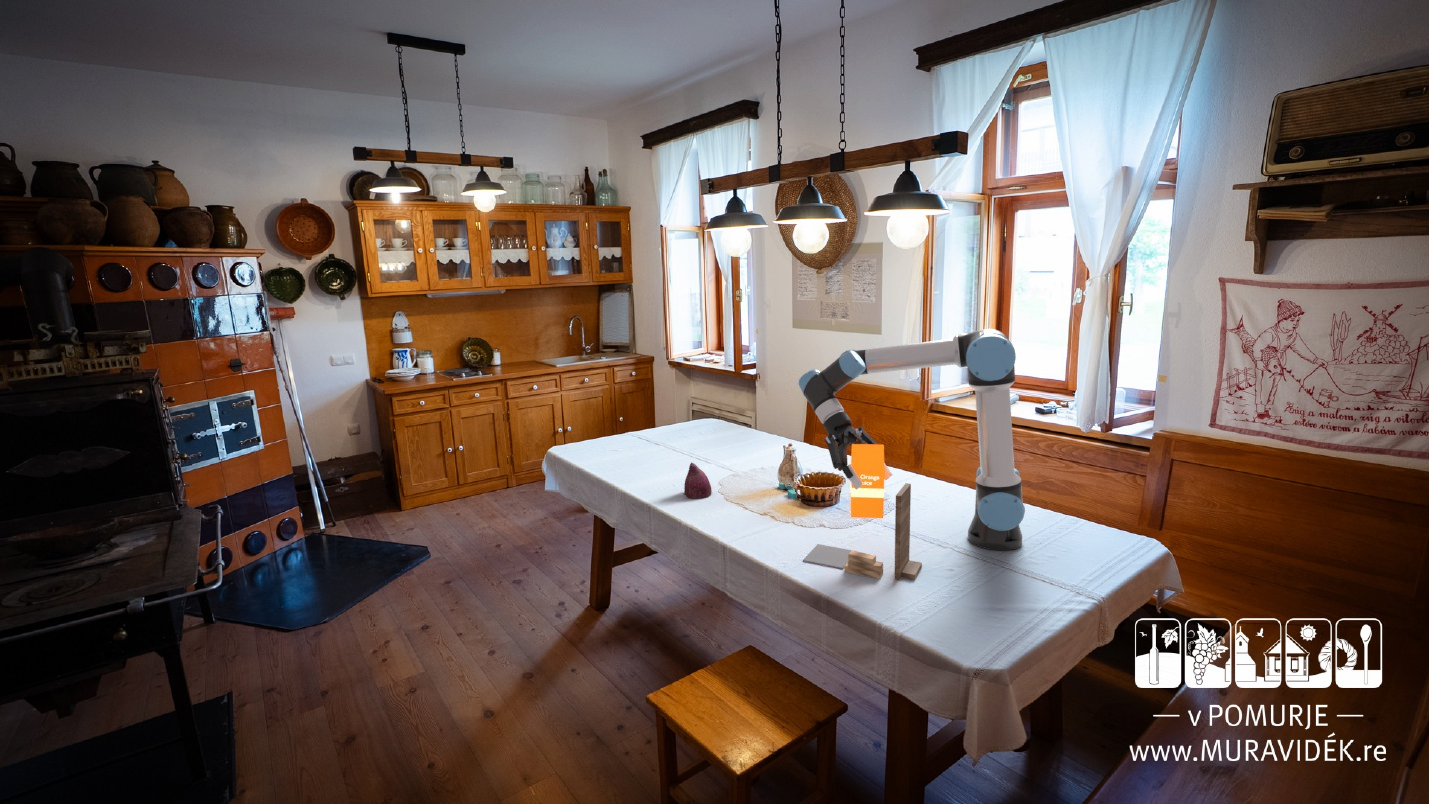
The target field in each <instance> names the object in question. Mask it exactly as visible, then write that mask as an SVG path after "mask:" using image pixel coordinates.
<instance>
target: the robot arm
mask: <svg viewBox="0 0 1429 804" xmlns="http://www.w3.org/2000/svg"><path fill="white" fill-rule="evenodd" d="M1016 357H1017V356H1016V349H1015V348H1014V345H1013V343H1012V342H1011V341H1010V340H1009V337H1008V336H1007V335H1006V334H1005V333H1003V332H1002V331H1000V330H997V329H994V328H986V329H985V328H984V329H980V330H975V331H972V332H965V333H959V334H956V335H955V336H954V337H953V338H948V339H947V338H946V339H939V340H931V341H922V342H916V343H915V342H914V343H907V344H900V345H890V346H884V347H876V348H875V347H874V348H867V349H866V348H865V349H858V350H856V349H848V350H845V351H843V352H842V353H841V354H840V355H839V357H838V358H836V359H835V360H834V361H833V362H832V363H831V364H829V365H828V366H827V367H826V368H824V369H823V370H822V371H820V370H819V369H812V370H809V371H807V372H805V373H804V374H802V375H801V376H800V378H799V379H798V386H799V388H800V390H801V392H802V394H803V396H804V398H805V399H806V400H807V402H808V403H809V405H810V406H811V408H812V410H813V411H814V413H815V415H816V416H817V418H818V420H819V421H820V423H821V424H823V425H822V426H823V428H824V429H825V432H827V434H828V435H827V436H826V437H825V438H824V442H825V443H826V446H827V449H828V452H829V456H830V459H831V463H832V467H833V469H835V470H838V471H839V472H842V473H843V474H844V475H845V477H846V479H848V480H849V481H850V484H851V483H852V485H853V486H854V488H855V489H856V490H857V489H859V488H860V487H861V486H862V485H863V483H862V482H861V480H860V479H859V477H858V475H857V474H856V472H855V470H854V469H853V467H852V466H851V463H849V464H848V447H850V446H851V447H852V444H875V445H879V444H878V442H876V440H874V439H873V438H872V436H870V435H869V434H868V433H867V432H866V431H865V429H864V428H863V426H862V425H861V426H859V427H858V428H854V427H853V425H852V420H851V418H850V416H849V415H848V413H847V412H846V411H845V409H844V407H843V405H842V404H841V403H840V401H839V399H838V398H837V396H836V395H835V394H836V393H838V392H839V391H840V390H842V389H843V388H844V387H845V386H847V385H848V384H850V383H851V382H852V381H854V380H855V379H857V378H858V377H859V376H861V375H862V376H864V375H870V374H878V373H887V372H896V371H897V372H899V371H907V370H916V369H926V368H935V367H936V368H937V367H944V366H945V367H946V366H955V365H956V366H957V367H958V368H967V380H968V385H969V386H970V387H971V388H972V389H973V390H974V393H975V409H976V420H977V422H976V423H977V424H976V425H977V434H978V435H977V436H978V450H979V463H980V466H979V467H978V468H977V469H976V475H975V477H976V478H975V504H974V505H975V508H974V509H975V510H974V515H973V518H972V520H971V523H970V525H969V527H968V530H967V539H968V541H969V542H971V544H974V545H975V546H976V547H977V546H978V547H980V548H982V549H986V550H991V551H992V550H993V551H1012V550H1015V549H1019V548H1020V547H1022V545H1023V533H1022V530H1021V527H1020V524H1021V523H1022V521H1023V519H1024V517H1025V512H1026V507H1025V504H1024V502H1023V490H1022V489H1023V487H1022V477H1020V471H1019V470H1018V469H1017V468H1015V457H1014V442H1013V440H1014V439H1013V437H1014V436H1013V424H1012V411H1011V410H1012V408H1011V394H1010V392H1011V391H1010V388H1011V387H1012V386H1013V384H1014V383H1015V382H1016V372H1015V371H1016V369H1015V368H1016V367H1015V364H1016V360H1017V358H1016ZM884 468H885V470H884V481H886V480H888V479H889V478H890V477H892V476H893V474H892V472H891V470H890V469H889V468H888V464H887V462H886V461H885V460H884Z"/></svg>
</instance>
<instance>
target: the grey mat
mask: <svg viewBox="0 0 1429 804" xmlns="http://www.w3.org/2000/svg"><path fill="white" fill-rule="evenodd" d="M851 551H852V549H847V548H842V547H836V546H831V545H826V544H825V545H824V544H819V543H818V544H816V545H815V546H814V547H813V549H811V551H810V552H809V553H807V555H806V556H805V557H804V558H803V559H802V561H803V562H804V563H810V564H814V565H818V566H820V565H821V566H824V567H829V568H830V567H831V568H834V569H838V570H839V569H840V570H844V566H845V565H846V564H847V562H848V554H849V553H850V552H851Z"/></svg>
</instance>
